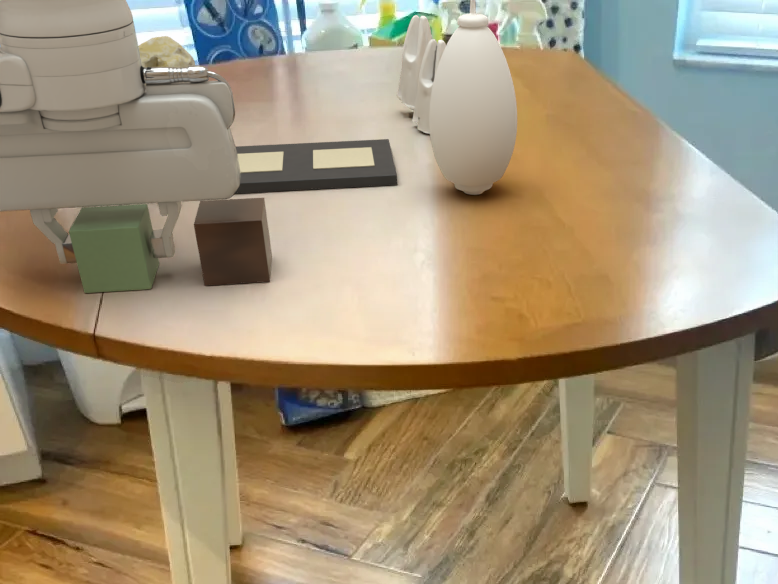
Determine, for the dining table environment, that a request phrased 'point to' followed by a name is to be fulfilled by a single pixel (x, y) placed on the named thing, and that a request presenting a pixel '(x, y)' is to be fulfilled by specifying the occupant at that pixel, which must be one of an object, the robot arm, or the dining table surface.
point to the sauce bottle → (473, 107)
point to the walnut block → (233, 241)
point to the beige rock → (164, 53)
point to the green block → (114, 248)
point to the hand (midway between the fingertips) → (119, 258)
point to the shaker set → (419, 70)
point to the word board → (316, 166)
